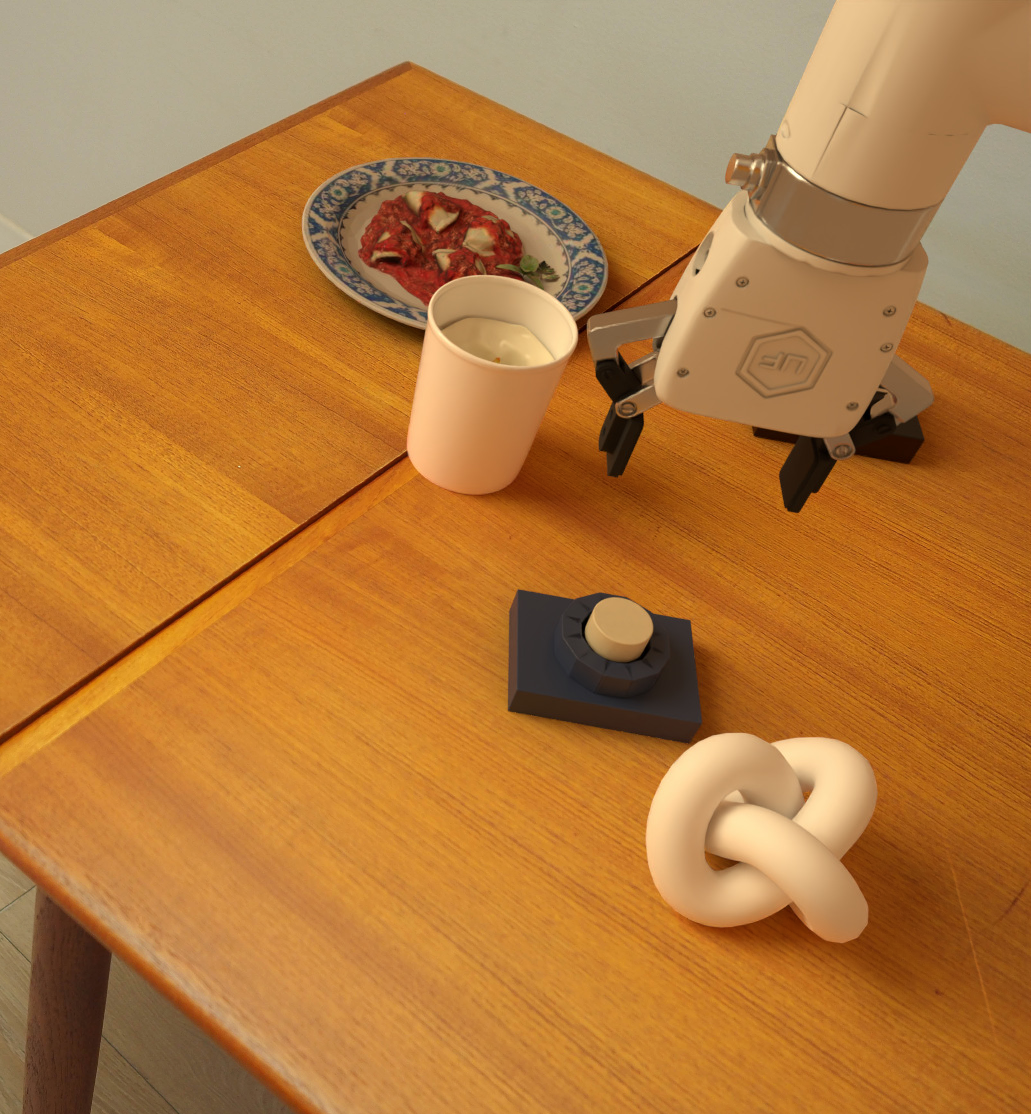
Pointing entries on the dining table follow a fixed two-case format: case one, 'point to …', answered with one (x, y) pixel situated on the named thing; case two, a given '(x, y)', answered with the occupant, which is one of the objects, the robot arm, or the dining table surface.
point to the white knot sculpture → (763, 832)
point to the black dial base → (889, 448)
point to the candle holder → (486, 380)
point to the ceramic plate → (446, 235)
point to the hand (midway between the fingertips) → (700, 477)
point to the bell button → (618, 629)
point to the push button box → (600, 671)
